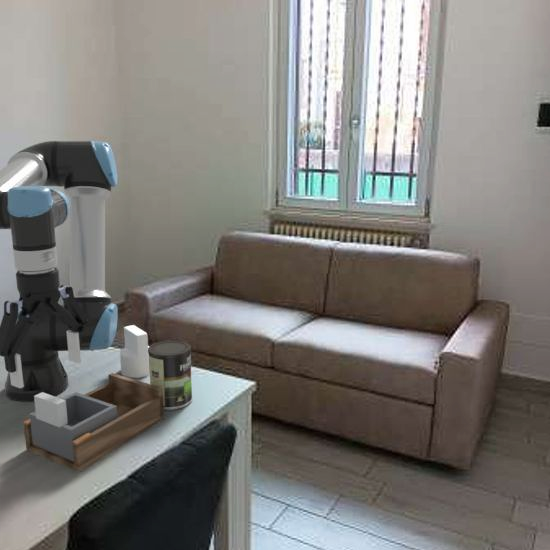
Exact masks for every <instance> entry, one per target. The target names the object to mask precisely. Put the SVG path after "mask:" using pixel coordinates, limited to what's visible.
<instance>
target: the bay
mask: <svg viewBox="0 0 550 550" xmlns="http://www.w3.org/2000/svg"><path fill="white" fill-rule="evenodd" d="M83 395H86V396H89V397H92V398H94V399H97V400H100V401H103V402H106V403H109V404H112V405H115V406H117V419H115V420H113V421H111V422H110V423H108V424H106V425H104V426H102V427H101V428H99V429H97V430H95V431H93V432H92V433H86V434H85V435H83V436H81V437H79V438H77V439H76V440H74V441H72V445H73V456H74V462H73V461H71V460H68V459H66V458H64V457H61V456H59V455H57V454H54V453H52V452H49V451H47V450H45V449H42V448H40V447H38V446H35V445H33V442H32V432H31V423H30V418H28V419H27V420H24V421H23V429H24V430H23V431H24V439H25V447H26V450H27V451H29V452H31V453H34V454H35V455H39V456H40V457H43V458H45V459H48V460H50V461H52V462H54V463H57V464H59V465H61V466H64V467H66V468H68V469H71V470H73V471H75V472H78V473H80V472H82V471H84V470H85V469H86V468H88V467H90V466H91V465H93V464H94V463H95V464H96V462H98V461H99V460H101V459H103V458H105V457H106V456H108V455H109V454H111V453H113V452H114V451H115V450H117V449H119V448H120V447H122V446H124V445H126V444H127V443H129V442H130V441H132V440H133V439H135V438H137V437H138V436H140V435H142V434H143V433H146V431H148V430H150V429H152V428H153V427H155V426H156V425H158V424H160V423H161V422H162V420H163V421H165V413H164V412H165V410H164V407H163V388H161V387H157V386H154V385H151V384H150V383H147V382H143V381H141V380H137V379H135V378H131V377H126V376H123V375H122V374H121V375H120V374H117V373H113V372H112V373H109V374H108V383H105V384H104V385H101V386H99V387H97V388H94V389H92V390H90V391H88V392H87V393H85V394H83ZM159 422H160V423H159ZM154 425H155V426H154Z"/></svg>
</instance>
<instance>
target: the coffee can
mask: <svg viewBox="0 0 550 550" xmlns="http://www.w3.org/2000/svg"><path fill="white" fill-rule="evenodd" d="M149 346H150V347H149V348H148V353H149V369H150V375H149V381H150V382H149V384H151V385H154V386H157V387H161V388H163V407H164V411H166V410H167V411H170V410H171V411H172V410H173V411H174V410H179V409H183V408H184V407H187V406H189V405H190V404H191V403H192V402H193V395H192V394H193V391H192V385H193V384H192V357H191V352H192V351H191V350H192V346H191V344H190V343H188V342H185V341H181V340H164V341H163V340H162V341H159V342H155V343H153V344H151V345H149Z"/></svg>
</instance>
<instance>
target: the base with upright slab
mask: <svg viewBox="0 0 550 550" xmlns="http://www.w3.org/2000/svg"><path fill="white" fill-rule="evenodd" d="M123 332H124V334H123V335H124V347H123V348H122V349H120V351H119V359H120V360H119V361H120V373H121V376H124V377H127V378H131V379H135V378H144V377H147V376H150V369H149V353H148V348H149V347H150V346H151V345H149V344H148V343H149V342H148V341H149V338H148V337H149V336H148V333H147V332H146V331H144V330H143V329H141V328H139V327H137V326H136V325H135V324H132V325H127V326H124V327H123Z"/></svg>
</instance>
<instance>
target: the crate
mask: <svg viewBox="0 0 550 550" xmlns="http://www.w3.org/2000/svg"><path fill="white" fill-rule="evenodd" d="M33 402H34V410H35V411H33V412H30V413H29V419H30V423H31V432H32V442H33V445H35V446H38V447H40V448H42V449H45V450H47V451H49V452H52V453H54V454H57V455H59V456H61V457H64V458H66V459H68V460H71V461H73V462H74V456H73V445H72V441H74V440H76V439H77V438H79V437H81V436H83V435H85V434H86V433H92V432H93V431H95V430H97V429H99V428H101V427H102V426H104V425H106V424H108V423H110V422H111V421H113V420H115V419H117V406H115V405H112V404H109V403H106V402H103V401H100V400H97V399H94V398H92V397H89V396H86V395H84V394H82V393H79V392H77V391H76V392H73V393H71V394H69V395H67V396H65V397H63V398H60V397H57V396H56V395H55V396H52V395H49V394H46V393H43V392H42V393H39V394H37V395H35V396H34V401H33Z"/></svg>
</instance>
